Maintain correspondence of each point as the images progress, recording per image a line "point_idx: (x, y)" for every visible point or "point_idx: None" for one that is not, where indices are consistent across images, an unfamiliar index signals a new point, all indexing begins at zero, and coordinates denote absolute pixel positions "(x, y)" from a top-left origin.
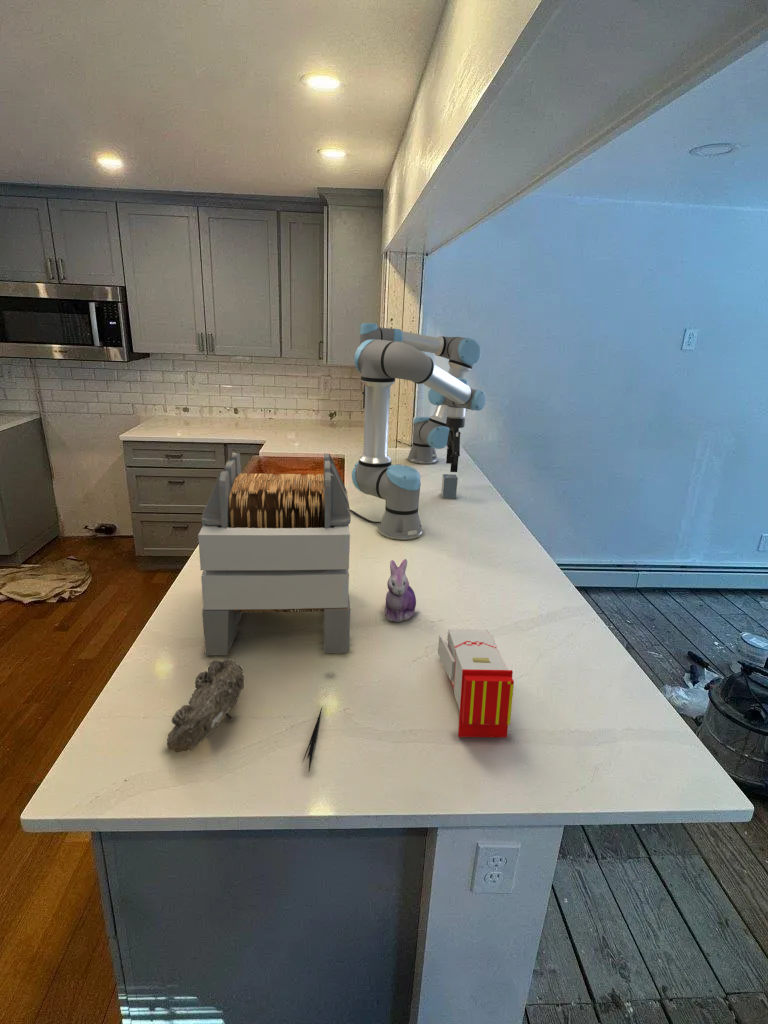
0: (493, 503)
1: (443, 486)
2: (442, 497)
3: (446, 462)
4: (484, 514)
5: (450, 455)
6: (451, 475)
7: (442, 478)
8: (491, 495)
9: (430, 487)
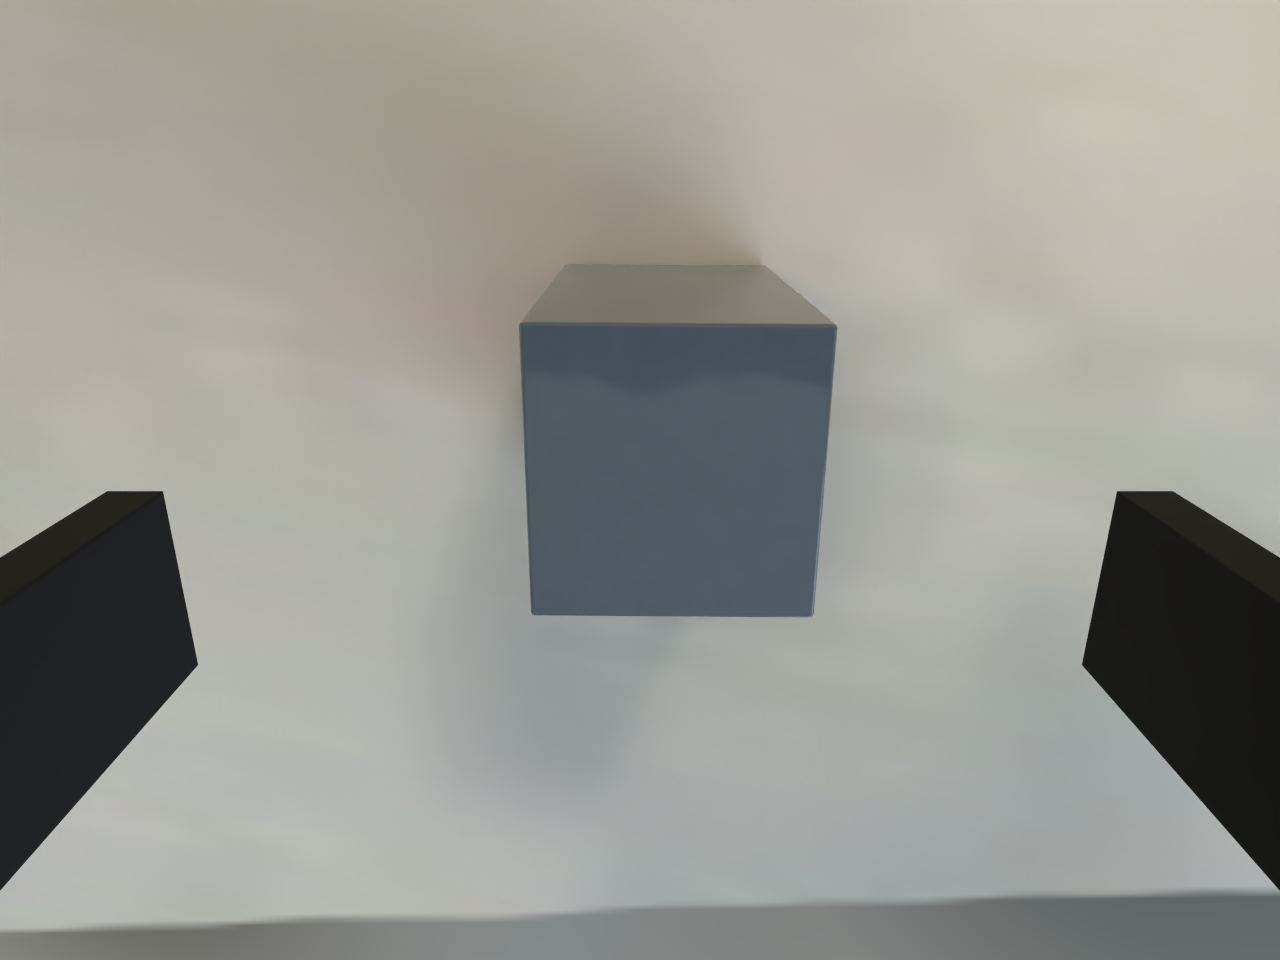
0: (463, 870)
1: (553, 291)
2: (580, 265)
3: (1135, 509)
4: None
5: (1272, 757)
6: (728, 514)
7: (798, 307)
8: (768, 901)
9: (1161, 122)
